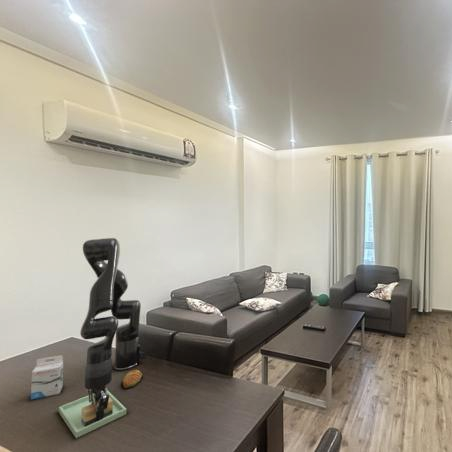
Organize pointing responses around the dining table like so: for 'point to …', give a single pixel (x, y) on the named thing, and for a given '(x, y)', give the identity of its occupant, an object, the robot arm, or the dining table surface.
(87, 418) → the eraser
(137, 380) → the pastry
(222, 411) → the dining table surface
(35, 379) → the ink box
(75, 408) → the tray
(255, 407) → the dining table surface
